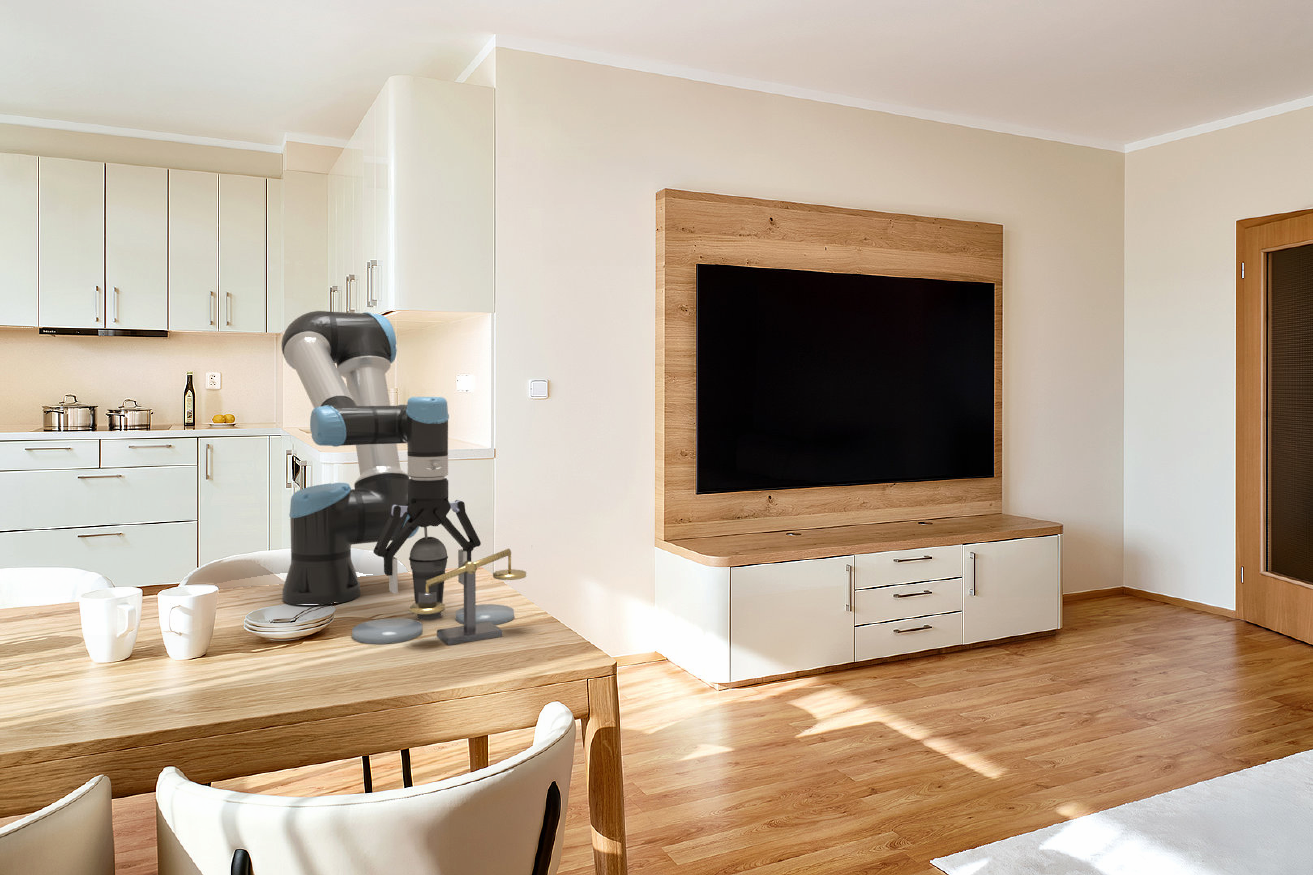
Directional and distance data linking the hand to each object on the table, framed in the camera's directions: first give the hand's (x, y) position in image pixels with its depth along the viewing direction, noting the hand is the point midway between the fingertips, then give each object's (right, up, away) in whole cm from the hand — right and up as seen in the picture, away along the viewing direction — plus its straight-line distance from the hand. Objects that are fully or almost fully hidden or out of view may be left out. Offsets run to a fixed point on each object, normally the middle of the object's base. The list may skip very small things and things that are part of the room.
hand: (428, 587), depth 170 cm
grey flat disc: (-5, -6, -11) cm, 13 cm away
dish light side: (+11, -6, 0) cm, 12 cm away
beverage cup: (0, -6, 0) cm, 6 cm away
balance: (+10, -7, -12) cm, 17 cm away
